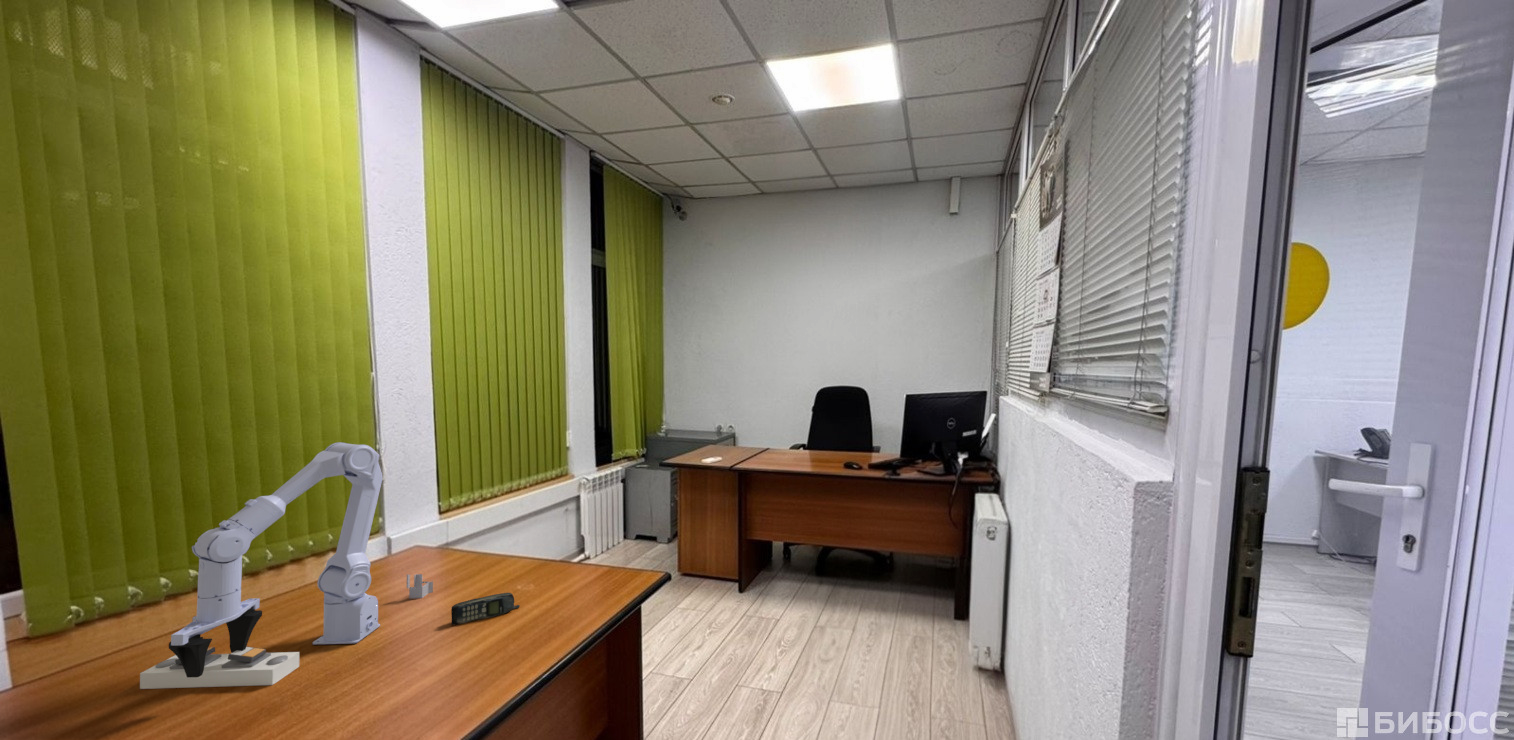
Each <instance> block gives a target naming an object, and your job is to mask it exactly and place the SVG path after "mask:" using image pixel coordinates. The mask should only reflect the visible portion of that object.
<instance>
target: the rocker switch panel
mask: <svg viewBox="0 0 1514 740" xmlns="http://www.w3.org/2000/svg"><path fill="white" fill-rule="evenodd" d="M229 654H230V653H212V654H210V655H208V656H206V657H205V665H204V671H203V674H202V675H201V676H199V677H187V676H186V673H185V670H184V668H183V665H182V664H176V662H175V660H176V659H177V658H178V657H177V656H176V655H175V654H174V655H173V656H171V657H169V658H167V659H165V660H163V661H160V662H159V663H156V664H155V665H153V666H151V667H150V668H147V669H146V670H143V671H142V672H140V673H139V689H140V690H146V689H147V690H149V689H152V690H153V689H154V690H155V689H176V688H177V689H179V688H180V689H182V688H184V689H186V688H213V687H215V688H216V687H217V688H219V687H246V686H247V687H249V686H251V687H253V686H273V685H274V684H276V683H277V682H279V681H280V680H283V678H285V677H287V676H288V675H289V674H291V673H293V672H294V671H295V670H296V669H298V668H300V651H287V652H286V651H285V652H283V651H282V652H281V651H280V652H266V653H265V654H264V655H262V656H261V657H259V658H258V659H256V660H254V661H253V662H244V661H236V660H228V655H229Z"/></svg>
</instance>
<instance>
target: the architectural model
mask: <svg viewBox="0 0 1514 740" xmlns="http://www.w3.org/2000/svg"><path fill="white" fill-rule="evenodd" d="M410 583H411V574H410V573H409V574H406V589H408V591H409V594H408V599H409V600H410V599H423V598H424V597H425V596H427V595H428V594H429V593H430V594H431V593H434V581H433V580H432V581H423V573H416V574H414V575H413V586H411V584H410ZM423 584H424V585H423Z"/></svg>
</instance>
